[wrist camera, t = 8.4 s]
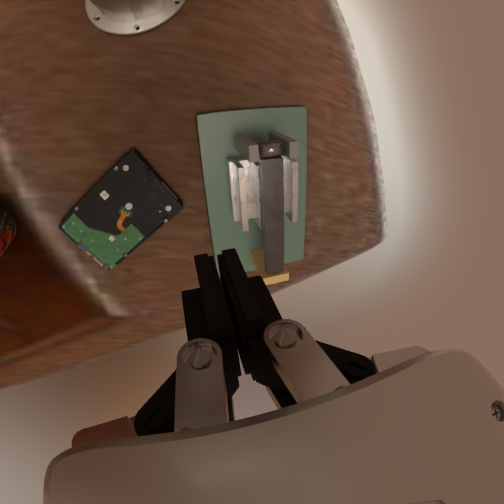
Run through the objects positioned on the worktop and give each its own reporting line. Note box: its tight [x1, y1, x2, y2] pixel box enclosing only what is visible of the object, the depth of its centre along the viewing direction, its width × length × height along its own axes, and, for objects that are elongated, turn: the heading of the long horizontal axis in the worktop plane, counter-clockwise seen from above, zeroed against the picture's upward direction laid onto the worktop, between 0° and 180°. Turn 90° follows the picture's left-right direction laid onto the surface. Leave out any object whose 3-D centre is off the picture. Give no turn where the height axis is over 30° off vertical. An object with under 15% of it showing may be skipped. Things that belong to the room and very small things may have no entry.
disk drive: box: [58, 148, 183, 270], centre depth 35 cm, size 10×3×15 cm
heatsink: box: [226, 155, 298, 232], centre depth 36 cm, size 8×8×5 cm
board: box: [196, 106, 307, 285], centre depth 37 cm, size 24×14×8 cm, turn 3°
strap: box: [257, 140, 285, 274], centre depth 34 cm, size 17×3×2 cm, turn 3°
